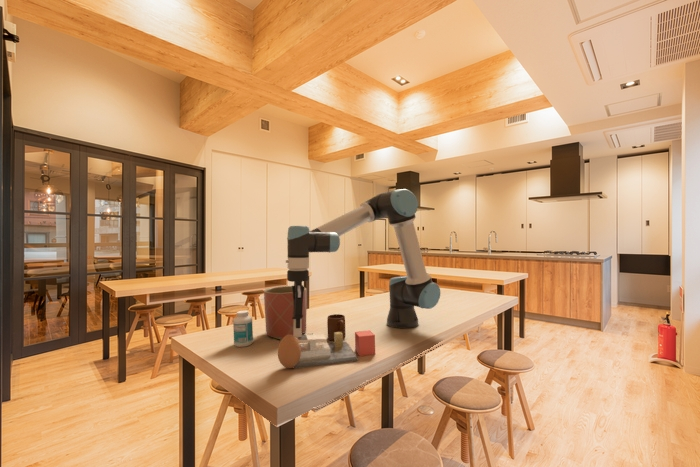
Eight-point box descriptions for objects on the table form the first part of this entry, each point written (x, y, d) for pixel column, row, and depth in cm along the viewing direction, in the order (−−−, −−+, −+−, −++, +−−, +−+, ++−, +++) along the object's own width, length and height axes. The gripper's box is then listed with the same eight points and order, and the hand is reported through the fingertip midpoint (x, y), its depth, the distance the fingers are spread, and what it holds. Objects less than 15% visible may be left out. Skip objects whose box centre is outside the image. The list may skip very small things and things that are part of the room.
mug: (352, 342, 129) (351, 319, 129) (334, 345, 126) (334, 322, 126) (341, 334, 140) (341, 313, 140) (325, 337, 137) (324, 315, 137)
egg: (300, 371, 102) (299, 337, 102) (276, 373, 101) (275, 339, 102) (302, 362, 110) (301, 330, 110) (279, 363, 109) (279, 331, 109)
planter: (277, 343, 130) (276, 295, 131) (257, 333, 145) (256, 289, 145) (315, 333, 143) (314, 289, 143) (293, 325, 157) (292, 284, 157)
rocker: (324, 337, 117) (324, 333, 117) (326, 342, 111) (326, 338, 111) (296, 338, 114) (296, 334, 114) (297, 343, 109) (298, 339, 109)
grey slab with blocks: (346, 345, 126) (346, 325, 126) (357, 360, 111) (356, 337, 111) (290, 351, 121) (289, 330, 121) (293, 368, 105) (292, 344, 105)
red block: (370, 348, 122) (369, 330, 122) (375, 354, 116) (374, 334, 116) (355, 350, 121) (354, 331, 121) (359, 355, 115) (359, 336, 115)
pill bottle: (247, 340, 136) (247, 308, 136) (256, 344, 130) (255, 311, 131) (230, 344, 130) (230, 311, 131) (238, 348, 125) (238, 314, 125)
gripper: (286, 268, 117) (285, 332, 117) (288, 271, 105) (287, 343, 104) (306, 267, 119) (306, 330, 119) (310, 271, 107) (310, 341, 106)
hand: (297, 336), depth 112 cm, fingers closed
